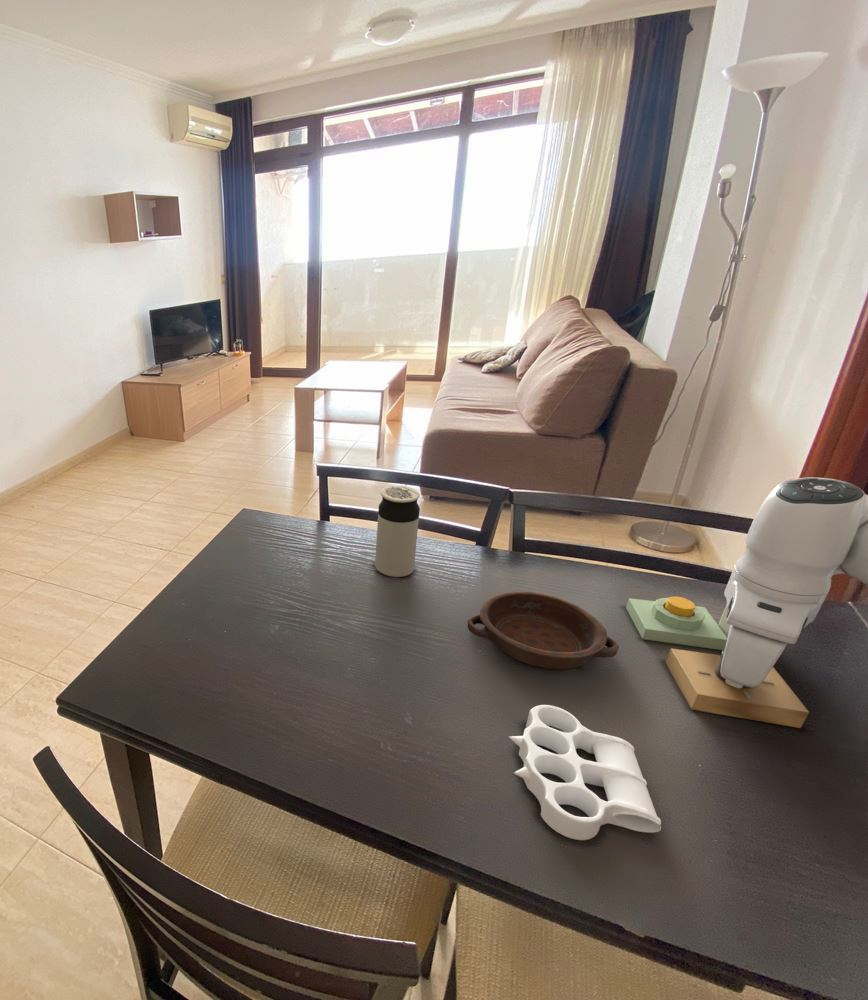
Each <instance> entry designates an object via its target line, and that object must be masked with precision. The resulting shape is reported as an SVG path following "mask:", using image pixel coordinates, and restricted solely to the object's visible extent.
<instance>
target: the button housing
mask: <svg viewBox="0 0 868 1000" xmlns="http://www.w3.org/2000/svg"><path fill="white" fill-rule="evenodd" d="M668 598H669V597H662V598H657V599H656V600H647V599H639V598H638V599H637V598H628V600H627V603H626V607H625V609H626V612H627V613H628V615H629V616H630V618H631V621H632V622H633V623H634V626H635V628H636V630H637V632H638V633H639V636H640V637H641V639H642V640H645V641H654V642H660V643H667V644H674V645H675V644H676V645H683V646H689V647H697V648H704V649H711V650H718V651H724V650H725V646H726V642H727V637H726V635H725V634H724V633H723V631H722V630H721V629H720V627H719V626H718V623H717V622H716V620H715V619H714V617H713V616H712V615H711V614H710V613H709V611H708V610H707V608H706V607H705V606H698V605H695V609H694V612H693V614H692V616H691V617H683V616H678V615H675V614H672V613H670V612H669V611H667V610H666V609H665V605H666V602H667V600H668Z"/></svg>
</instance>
